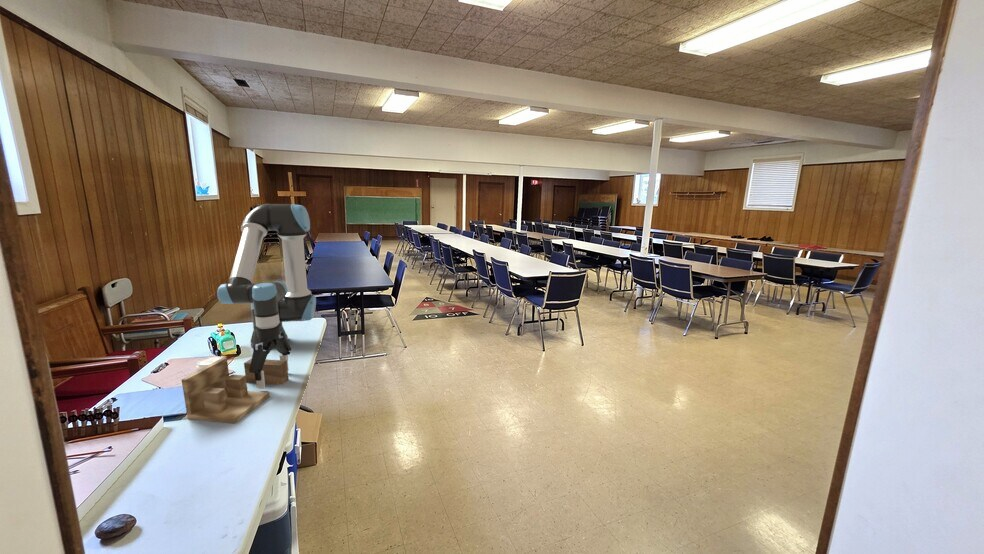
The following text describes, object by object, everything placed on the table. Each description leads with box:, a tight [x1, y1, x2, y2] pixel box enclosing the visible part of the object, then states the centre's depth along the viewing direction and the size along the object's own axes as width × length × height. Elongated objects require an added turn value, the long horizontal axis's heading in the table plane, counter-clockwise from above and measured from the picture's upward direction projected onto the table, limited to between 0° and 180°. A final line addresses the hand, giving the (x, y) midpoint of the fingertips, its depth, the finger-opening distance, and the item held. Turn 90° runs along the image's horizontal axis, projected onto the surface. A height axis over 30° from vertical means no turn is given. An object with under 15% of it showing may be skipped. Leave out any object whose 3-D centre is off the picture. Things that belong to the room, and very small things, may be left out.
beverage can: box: [195, 355, 223, 372], centre depth 134 cm, size 8×8×12 cm
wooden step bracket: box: [181, 357, 270, 424], centre depth 125 cm, size 16×16×14 cm
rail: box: [243, 358, 290, 385], centre depth 143 cm, size 4×14×8 cm, turn 87°
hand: (273, 378), depth 143 cm, fingers open, 13 cm apart
